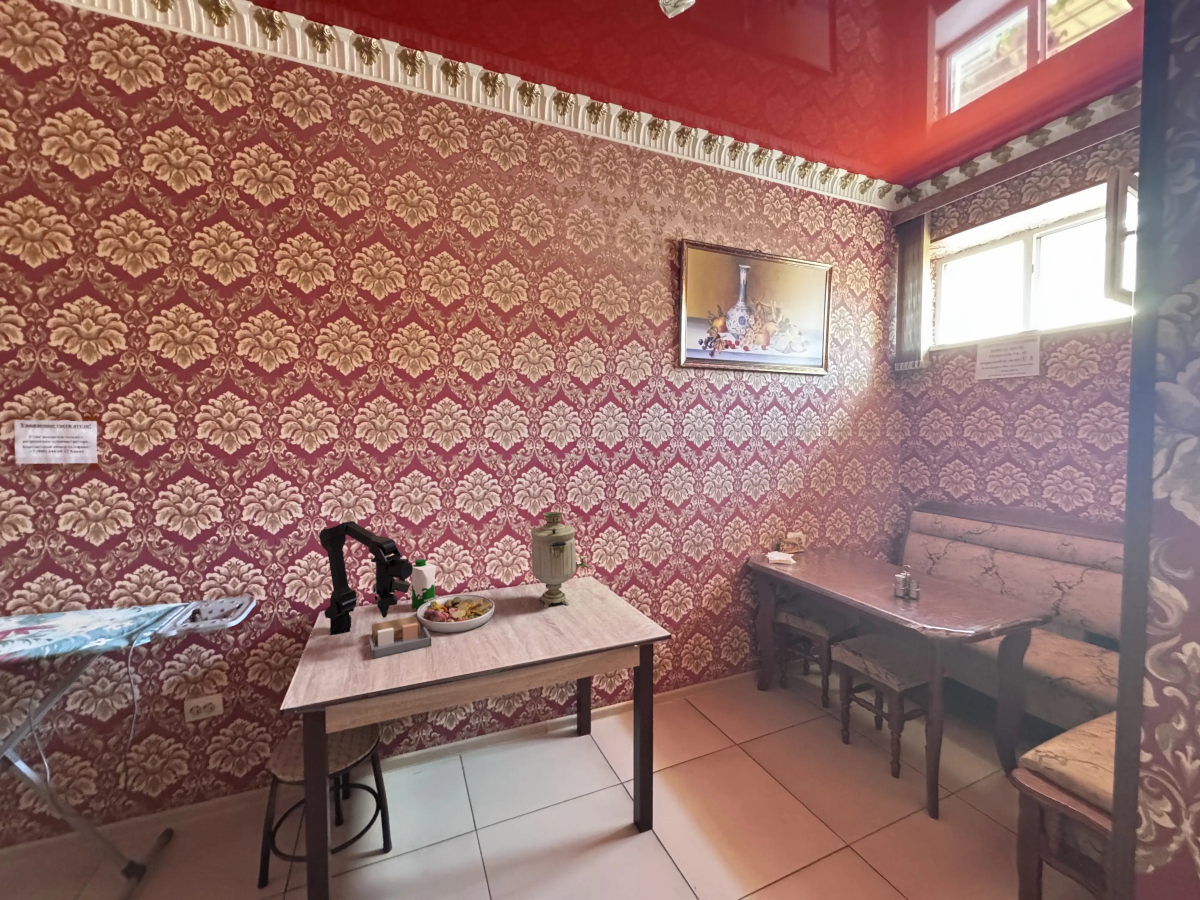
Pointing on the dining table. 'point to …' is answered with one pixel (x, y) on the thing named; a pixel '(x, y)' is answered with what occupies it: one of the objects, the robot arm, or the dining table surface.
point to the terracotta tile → (409, 631)
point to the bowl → (455, 612)
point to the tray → (400, 645)
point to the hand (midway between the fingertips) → (384, 617)
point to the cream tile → (385, 637)
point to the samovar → (554, 556)
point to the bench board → (395, 625)
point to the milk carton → (423, 583)
